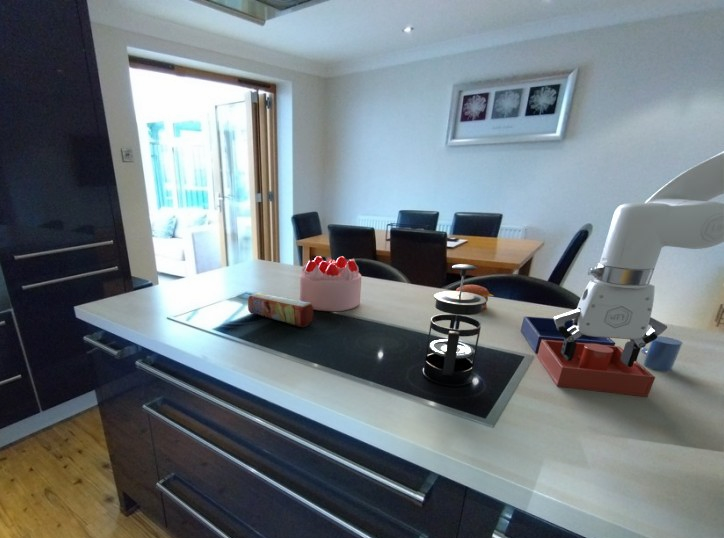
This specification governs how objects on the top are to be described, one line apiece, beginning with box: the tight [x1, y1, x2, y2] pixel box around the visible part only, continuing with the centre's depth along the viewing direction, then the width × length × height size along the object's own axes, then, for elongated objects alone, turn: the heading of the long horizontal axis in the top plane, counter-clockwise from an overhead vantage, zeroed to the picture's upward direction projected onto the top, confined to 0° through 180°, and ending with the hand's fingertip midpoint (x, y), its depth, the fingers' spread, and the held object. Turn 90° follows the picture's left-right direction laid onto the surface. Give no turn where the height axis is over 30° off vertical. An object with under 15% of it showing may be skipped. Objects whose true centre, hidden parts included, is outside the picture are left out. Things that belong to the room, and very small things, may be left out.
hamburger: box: [455, 284, 495, 311], centre depth 120 cm, size 9×10×7 cm
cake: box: [299, 255, 362, 312], centre depth 125 cm, size 20×20×14 cm
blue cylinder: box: [640, 335, 683, 372], centre depth 82 cm, size 9×4×6 cm, turn 161°
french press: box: [422, 263, 487, 388], centre depth 75 cm, size 12×9×23 cm
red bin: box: [537, 340, 656, 398], centre depth 78 cm, size 14×14×4 cm
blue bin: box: [520, 315, 616, 354], centre depth 92 cm, size 14×14×4 cm
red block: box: [577, 343, 613, 371], centre depth 78 cm, size 9×4×6 cm, turn 161°
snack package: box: [247, 292, 314, 328], centre depth 113 cm, size 21×7×7 cm, turn 48°
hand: (595, 360), depth 76 cm, fingers open, 9 cm apart
